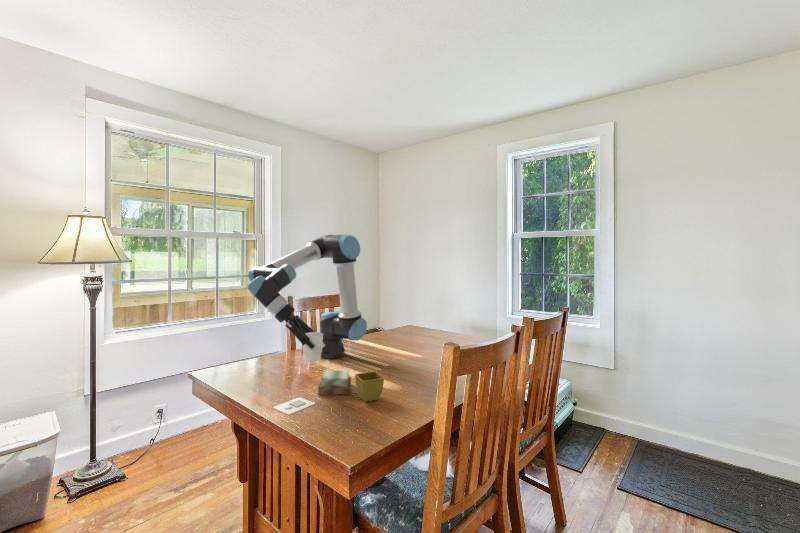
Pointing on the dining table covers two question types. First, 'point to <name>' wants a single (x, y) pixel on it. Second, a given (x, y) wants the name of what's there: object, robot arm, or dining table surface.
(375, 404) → the dining table surface
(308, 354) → the white cup
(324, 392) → the tower base
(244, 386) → the dining table surface
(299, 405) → the page
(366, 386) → the flower pot
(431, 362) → the dining table surface
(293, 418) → the dining table surface
